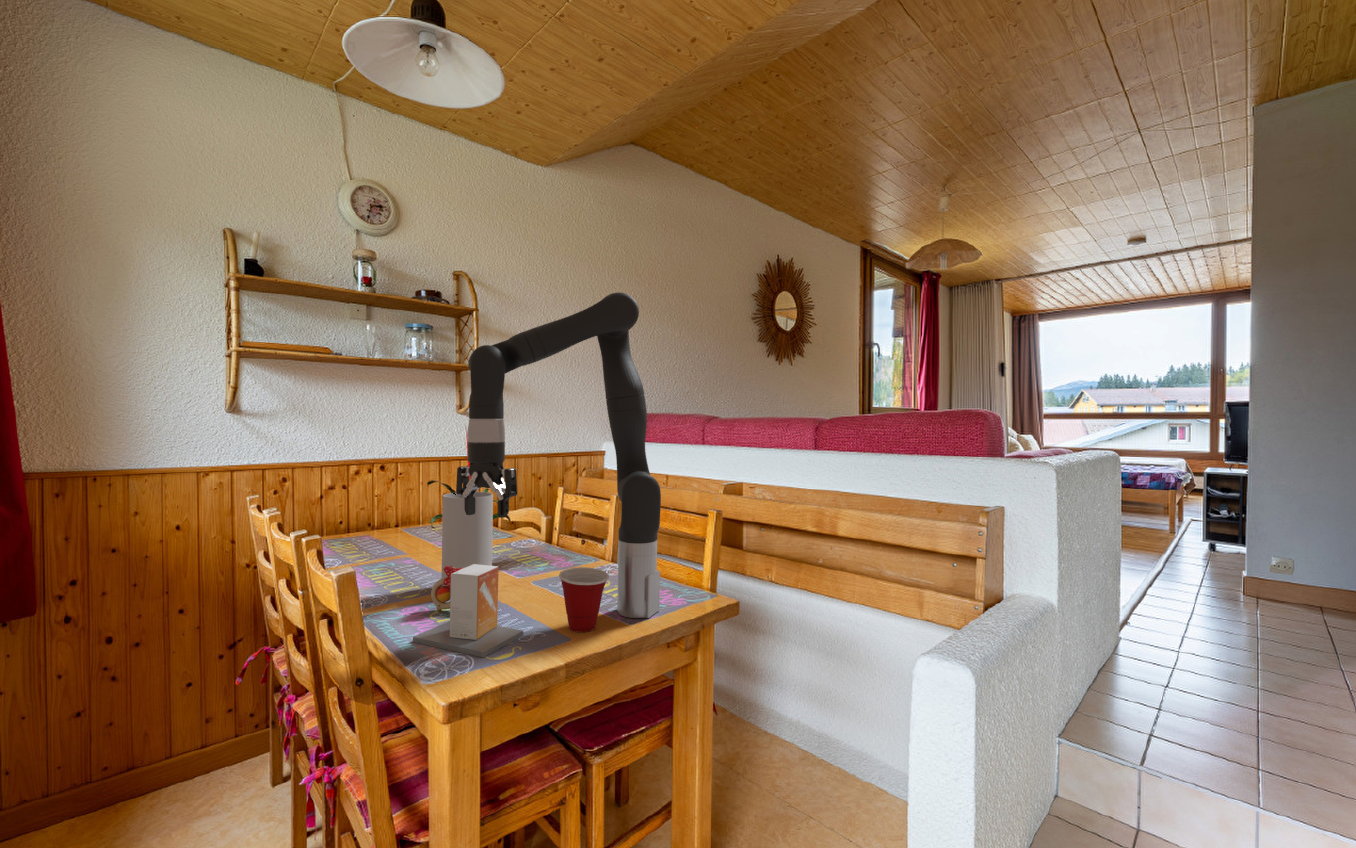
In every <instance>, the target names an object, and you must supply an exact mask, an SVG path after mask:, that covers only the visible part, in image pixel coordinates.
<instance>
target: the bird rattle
mask: <svg viewBox="0 0 1356 848" xmlns="http://www.w3.org/2000/svg"><path fill="white" fill-rule="evenodd" d="M460 569H463V568H459V569H457V568H454V567H452V566H449V567H448V566H445V567H444V568H443V570H444V571H445V573H446V575H447V576H448V577H446V578H442V577H441V578H439V579H438V580H437V581H436V582H434V584H433V586H432V587H431V591H430V597H431V600H432V601H431V602H432V603H433V604H434V606H435V607H436V611H438V612H440V611H443V610H450V594H451V588H450V587H451V574H452V573H454V572H456V571H459V570H460ZM442 585H448V586H442Z"/></svg>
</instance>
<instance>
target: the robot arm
mask: <svg viewBox="0 0 1356 848" xmlns="http://www.w3.org/2000/svg"><path fill="white" fill-rule="evenodd" d="M639 317H640V309H639V305H638V303H637V301H636V300H635V298H633V297H632V296H631V295H630V294H628V293H625V292H613V293H610V294H608V295H606V296H605V297H603V298H602V299H601V300H600V301H598V302H597V303H595V304H593V305H590V306H589V307H586V308H585V309H583V310H580V311H578V312H576V313H574V314H571V315H569V316H568V315H567V316H566V317H563V318H559V319H556V320H553V321H550V322H547V323H544V324H541V325H538V326H536V327H532V328H530V329H528V330H524V331H522V332H519V333H516V334H513V336H511V337H509V338H508V339H505V340H502V341H501V342H497V343H494V344H492V345H490V344H485V345H480V346H478V347H476V348H475V349H474V350H473V351H472V353H471V354H470V357H469V359H468V362H467V364H468V370H469V372H470V393H469V394H470V395H469V399H468V400H469V402H468V425H467V461H468V463H469V466H468V465H463V466H458V467H457V468H456V483H455V484H456V485H455V486H456V487H455V489H456V490H455V493H457V494H461V495H463V497H464V499H465V508H464V510H465V512H466V515H473V514H475V497H474V495H475V494H476V492H479V489H481V488H485V489H491V491H492V493H495V496H496V497H497V498H498V500H497V517H498V519H499V518H501V519H502V518H506V517H508V515H509V512H510V498H513V497H517V495H518V479H517V469H516V468H515V467H511V468H504V462H505V461H506V459H505V458H506V455H505V454H506V450H505V448H506V447H505V446H506V428H505V419H504V414H505V413H504V411H505V410H504V407H505V406H504V389H505V388H504V387H505V378H506V374H507V373H509V372H511V371H514V370H517V369H518V368H520V367H524V366H527V365H531V364H534V363H537V362H539V361H542V360H544V359H547V358H550V357H552V356H555V355H556V354H559V353H561V352H562V351H564V350H566V349H567V350H568V349H569V348H571V347H572V346H575V345H577V344H579V343H581V342H582V343H583V341H587V340H589V339H591V338H595V337H597V340H598V345H599V349H600V356H601V361H602V373H603V382H604V392H605V399H606V400H605V402H606V409H607V417H608V421H609V428H610V433H611V437H612V441H613V442H612V443H613V446H614V450H615V457H616V480H617V481H616V487H617V488H616V489H617V490H616V491H617V496H618V499H619V500H620V502H621V512H620V513H621V518H620V524H619V525H620V526H619V528H618V541H617V542H618V543H617V544H618V548H617V549H618V553H617V603H616V605H617V607H616V609H617V610H616V611H617V614H618V615H620V616H622V617H625V618H632V619H639V618H642V619H643V618H645V619H649V618H651V617H652V616H654V615H655V614H657V612H660V601H661V600H660V599H661V597H660V594H661V593H660V592H661V571H660V570H658V568H657V567H658V533H659V530H660V527H661V525H660V524H661V507H662V506H661V500H662V497H661V496H662V495H661V493H662V491H661V487H660V484H659V482H658V481H657V479H656V478H655V477H654V476H653V475H651V472H650V470H649V465H648V464H649V463H648V459H647V455H646V454H647V452H646V437H647V425H648V412H647V403H646V396H645V389H644V385H643V382H642V380H641V377H640V375H639V372H638V370H637V367H636V366H635V364H634V360H633V357H632V353H631V346H630V334H629V333H630V332H629V331H630V330H631V329H632V328H633V327H634V326H635V325H636V324H637V321H638V319H639Z"/></svg>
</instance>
